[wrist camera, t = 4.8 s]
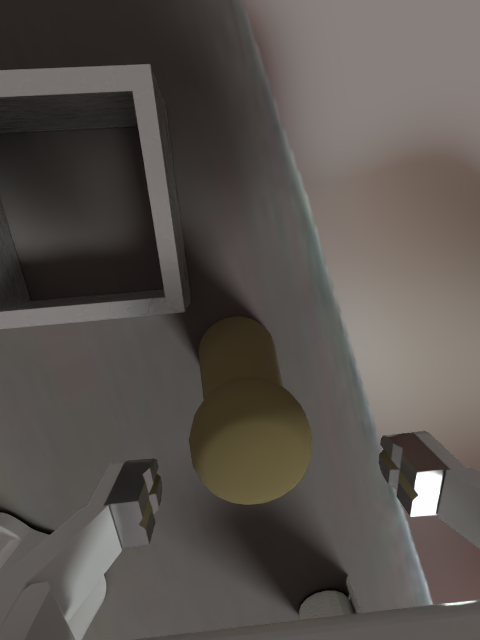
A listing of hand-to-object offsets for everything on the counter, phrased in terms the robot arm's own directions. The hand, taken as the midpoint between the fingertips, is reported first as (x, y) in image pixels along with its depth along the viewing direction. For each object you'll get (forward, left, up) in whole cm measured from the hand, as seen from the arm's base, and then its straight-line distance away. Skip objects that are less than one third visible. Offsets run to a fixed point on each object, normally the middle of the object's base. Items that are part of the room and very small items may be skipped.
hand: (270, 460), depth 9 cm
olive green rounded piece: (-1, -1, -11) cm, 11 cm away
